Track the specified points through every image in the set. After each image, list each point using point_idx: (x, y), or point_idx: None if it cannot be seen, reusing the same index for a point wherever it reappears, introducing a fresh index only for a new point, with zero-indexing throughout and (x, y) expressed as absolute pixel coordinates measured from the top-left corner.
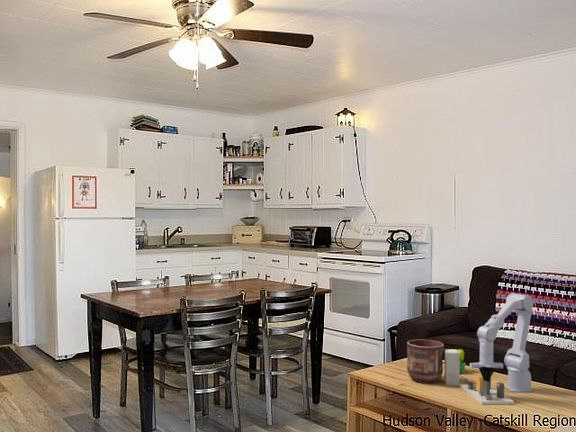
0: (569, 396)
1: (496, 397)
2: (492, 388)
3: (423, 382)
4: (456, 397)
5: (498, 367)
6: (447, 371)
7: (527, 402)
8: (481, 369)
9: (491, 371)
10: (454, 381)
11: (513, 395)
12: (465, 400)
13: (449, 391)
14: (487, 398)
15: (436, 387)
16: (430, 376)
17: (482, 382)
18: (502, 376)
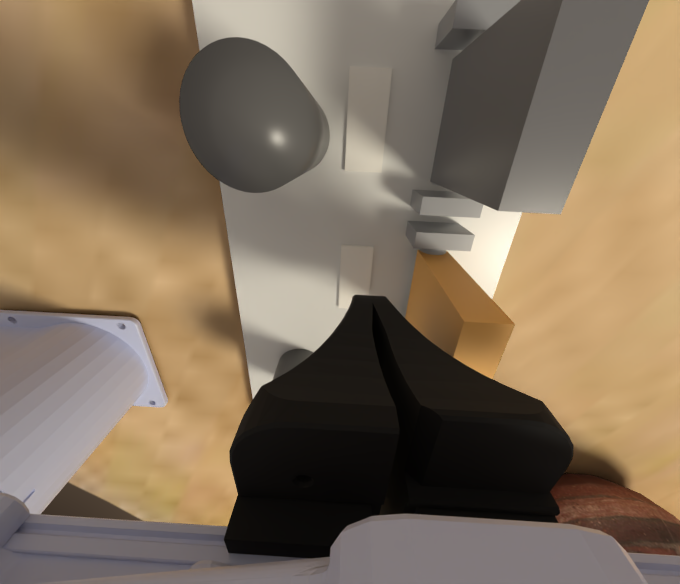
0: None
1: (337, 130)
2: (268, 356)
3: (607, 480)
4: (643, 239)
5: (67, 531)
6: None
7: (41, 30)
8: (549, 493)
9: (330, 392)
10: None
11: (146, 250)
12: (639, 150)
13: (574, 361)
14: None
15: (592, 423)
16: (628, 512)
17: (452, 293)
18: (144, 506)
